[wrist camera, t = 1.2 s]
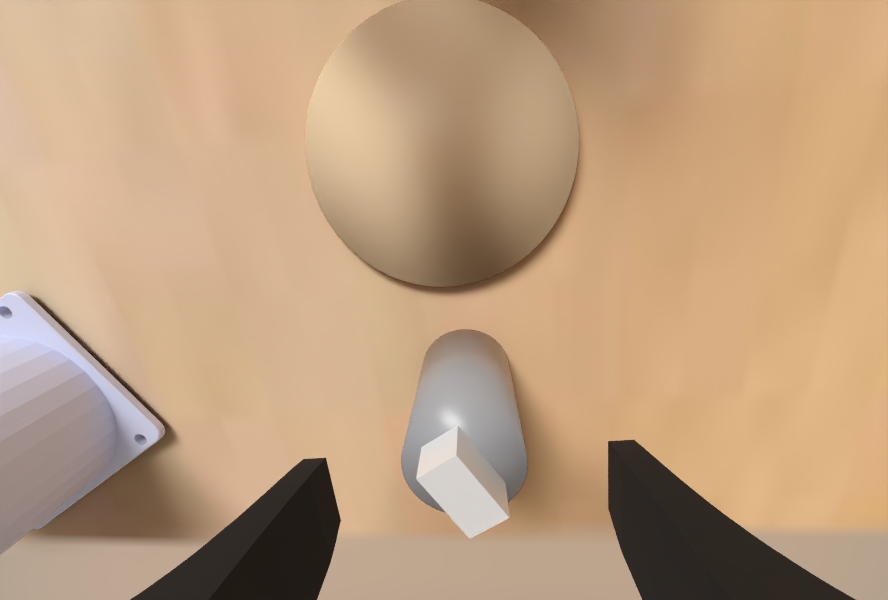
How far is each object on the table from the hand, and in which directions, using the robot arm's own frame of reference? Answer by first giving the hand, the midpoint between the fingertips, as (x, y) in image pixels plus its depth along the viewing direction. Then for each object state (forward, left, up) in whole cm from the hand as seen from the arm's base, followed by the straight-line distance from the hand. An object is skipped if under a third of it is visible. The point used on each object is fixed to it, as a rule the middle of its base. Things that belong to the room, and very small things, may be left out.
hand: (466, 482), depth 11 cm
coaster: (+4, +7, -6) cm, 10 cm away
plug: (0, 0, -6) cm, 6 cm away
